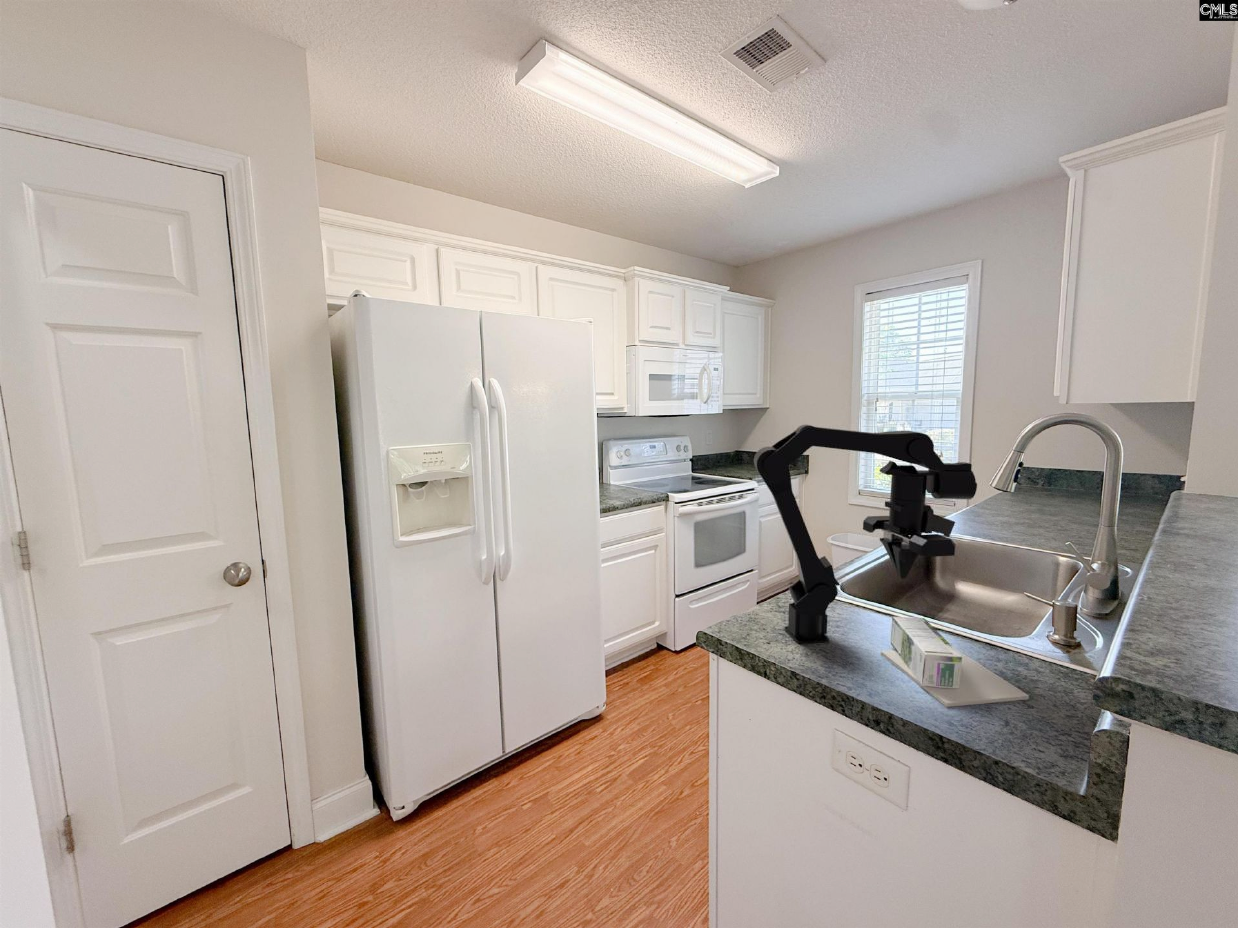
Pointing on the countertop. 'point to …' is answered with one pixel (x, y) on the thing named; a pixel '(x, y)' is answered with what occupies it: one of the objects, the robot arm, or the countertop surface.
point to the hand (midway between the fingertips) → (902, 578)
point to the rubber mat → (966, 684)
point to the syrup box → (926, 652)
